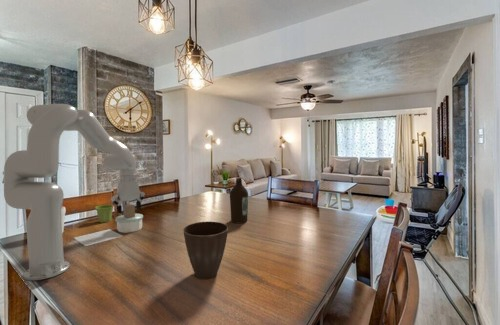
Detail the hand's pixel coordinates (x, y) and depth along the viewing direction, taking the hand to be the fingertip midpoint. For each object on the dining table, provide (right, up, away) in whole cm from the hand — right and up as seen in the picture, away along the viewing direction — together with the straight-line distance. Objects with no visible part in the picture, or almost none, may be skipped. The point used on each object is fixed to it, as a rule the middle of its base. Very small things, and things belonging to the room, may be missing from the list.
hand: (129, 211), depth 133 cm
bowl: (0, -10, +1) cm, 10 cm away
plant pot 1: (-22, -9, +17) cm, 29 cm away
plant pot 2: (+48, -13, -45) cm, 67 cm away
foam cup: (-34, -11, -6) cm, 36 cm away
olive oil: (+56, -9, +16) cm, 59 cm away
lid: (0, -4, 0) cm, 4 cm away
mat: (-10, -11, -11) cm, 18 cm away
